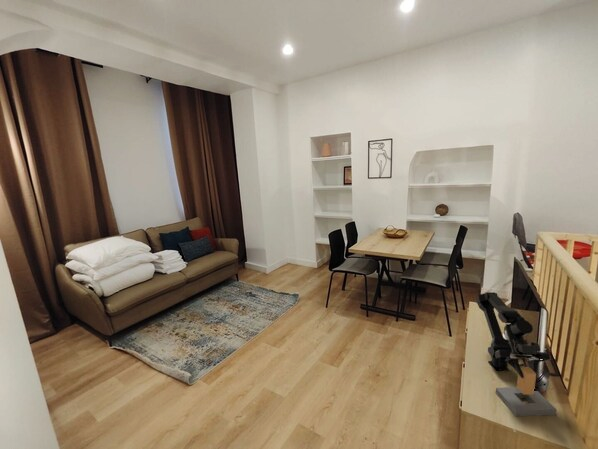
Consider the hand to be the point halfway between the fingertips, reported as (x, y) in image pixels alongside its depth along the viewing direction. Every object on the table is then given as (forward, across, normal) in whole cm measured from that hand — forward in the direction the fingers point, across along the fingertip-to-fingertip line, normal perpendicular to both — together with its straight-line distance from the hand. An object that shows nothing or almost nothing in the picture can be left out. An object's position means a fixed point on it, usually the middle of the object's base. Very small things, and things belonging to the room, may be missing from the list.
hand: (528, 378), depth 114 cm
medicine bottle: (-17, +12, +36) cm, 42 cm away
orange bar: (+4, 0, +6) cm, 7 cm away
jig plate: (+8, 0, +10) cm, 13 cm away
